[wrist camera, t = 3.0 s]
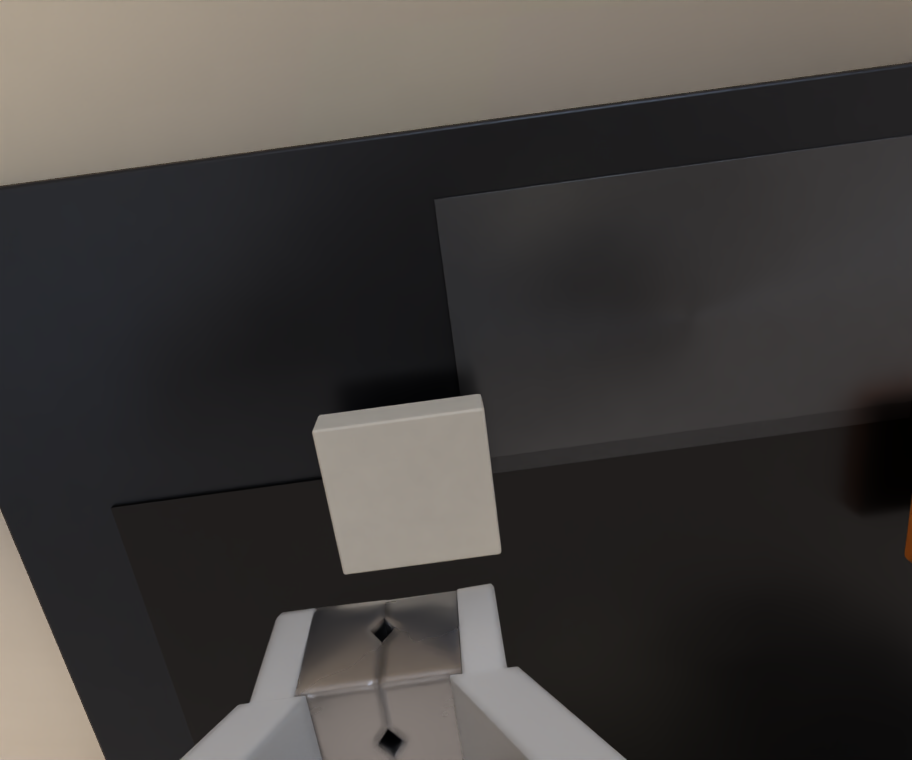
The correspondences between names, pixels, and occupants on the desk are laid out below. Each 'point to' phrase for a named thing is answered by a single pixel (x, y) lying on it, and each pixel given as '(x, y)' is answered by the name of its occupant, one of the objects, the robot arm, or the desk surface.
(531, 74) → the desk surface
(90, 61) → the desk surface
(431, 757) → the robot arm
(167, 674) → the laptop
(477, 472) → the white flat square block
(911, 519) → the orange block
